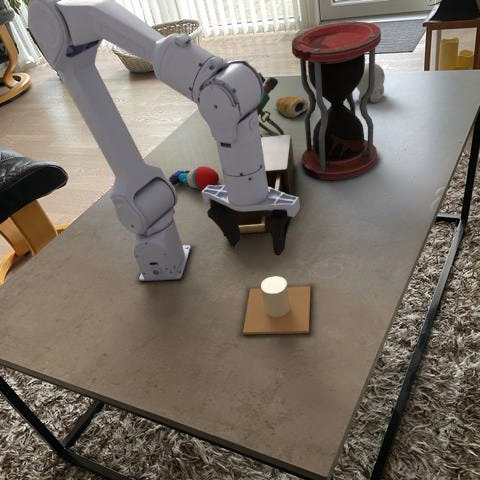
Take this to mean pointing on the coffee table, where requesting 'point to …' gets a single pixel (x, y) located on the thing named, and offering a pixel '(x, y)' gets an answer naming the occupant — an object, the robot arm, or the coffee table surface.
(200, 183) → the toy figure
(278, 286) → the cream cylinder
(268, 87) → the binoculars
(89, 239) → the coffee table surface
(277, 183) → the drawer
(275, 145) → the cabinet
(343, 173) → the hourglass
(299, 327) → the cork mat
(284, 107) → the pastry
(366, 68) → the round bodied animal figurine
